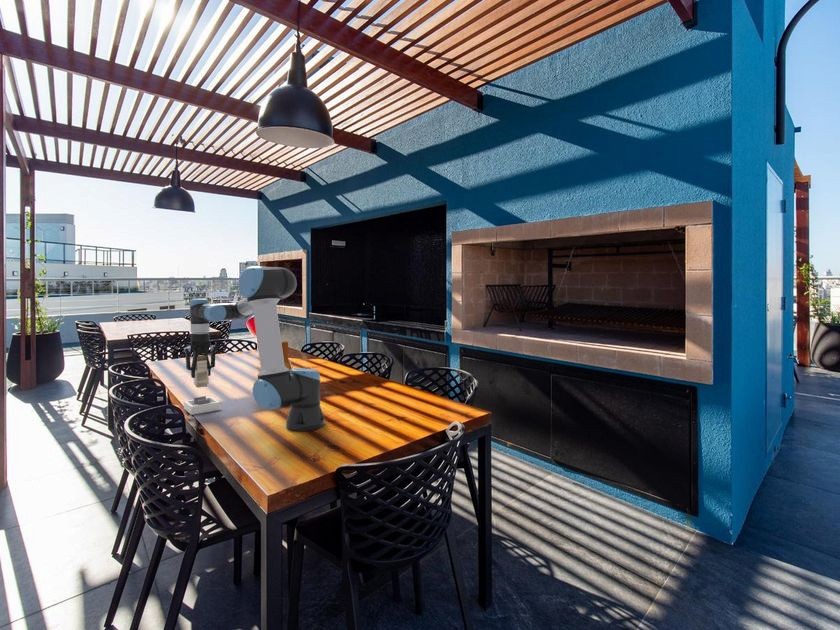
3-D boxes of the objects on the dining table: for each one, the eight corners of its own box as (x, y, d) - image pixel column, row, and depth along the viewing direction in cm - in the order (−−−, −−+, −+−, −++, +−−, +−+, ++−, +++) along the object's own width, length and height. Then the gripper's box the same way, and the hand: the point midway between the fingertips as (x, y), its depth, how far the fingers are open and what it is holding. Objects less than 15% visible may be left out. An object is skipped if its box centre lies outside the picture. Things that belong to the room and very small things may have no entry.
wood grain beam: (207, 386, 194) (206, 356, 193) (197, 387, 191) (197, 356, 190) (204, 384, 197) (204, 354, 196) (195, 386, 194) (194, 355, 193)
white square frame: (220, 409, 194) (220, 398, 194) (191, 414, 186) (190, 403, 186) (211, 404, 203) (211, 393, 202) (184, 408, 195) (183, 398, 194)
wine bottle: (287, 406, 199) (286, 343, 197) (270, 404, 202) (269, 342, 200) (300, 401, 209) (299, 340, 207) (283, 399, 212) (282, 339, 210)
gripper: (217, 330, 200) (218, 379, 202) (176, 333, 189) (178, 385, 191) (222, 332, 195) (223, 382, 197) (181, 334, 183) (182, 388, 185)
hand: (201, 383), depth 194 cm, fingers closed on wood grain beam, 4 cm apart
